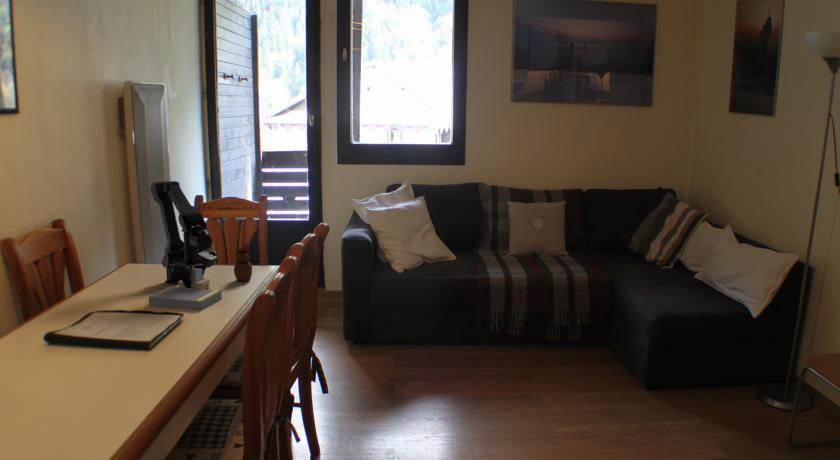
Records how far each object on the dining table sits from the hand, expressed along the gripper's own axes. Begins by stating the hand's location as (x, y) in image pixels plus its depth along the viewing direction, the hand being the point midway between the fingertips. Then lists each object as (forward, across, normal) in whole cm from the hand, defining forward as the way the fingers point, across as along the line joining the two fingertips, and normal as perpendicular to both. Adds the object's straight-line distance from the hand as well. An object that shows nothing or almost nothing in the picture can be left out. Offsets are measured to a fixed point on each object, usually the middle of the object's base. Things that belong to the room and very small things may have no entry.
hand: (194, 286), depth 251 cm
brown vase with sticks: (+2, +17, -11) cm, 20 cm away
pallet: (+2, 0, 0) cm, 2 cm away
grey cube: (-2, 0, 0) cm, 2 cm away
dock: (+1, -14, -5) cm, 15 cm away
